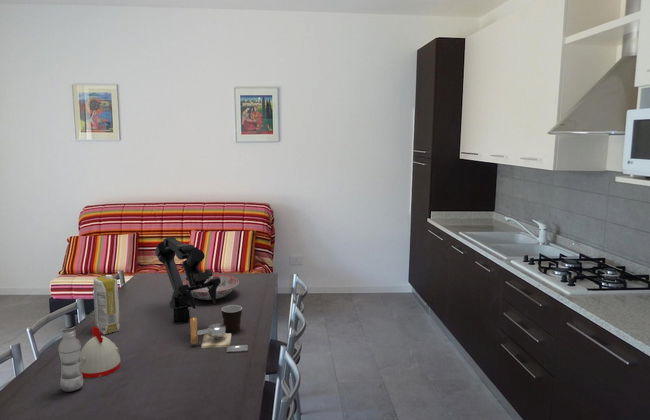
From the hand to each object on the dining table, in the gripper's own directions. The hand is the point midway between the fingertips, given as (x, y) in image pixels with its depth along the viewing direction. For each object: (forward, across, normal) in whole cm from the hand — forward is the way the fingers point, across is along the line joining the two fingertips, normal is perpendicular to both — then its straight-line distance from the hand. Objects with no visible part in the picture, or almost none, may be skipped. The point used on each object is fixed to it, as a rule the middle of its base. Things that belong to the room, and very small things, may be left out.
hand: (205, 305), depth 191 cm
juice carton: (-11, -28, +34) cm, 46 cm away
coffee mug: (+11, +13, +8) cm, 19 cm away
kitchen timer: (+10, -41, +10) cm, 44 cm away
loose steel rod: (+23, +3, -6) cm, 24 cm away
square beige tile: (+15, +1, +4) cm, 15 cm away
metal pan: (+13, -2, +3) cm, 14 cm away
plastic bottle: (+15, -53, +3) cm, 55 cm away
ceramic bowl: (-17, +27, +42) cm, 53 cm away
